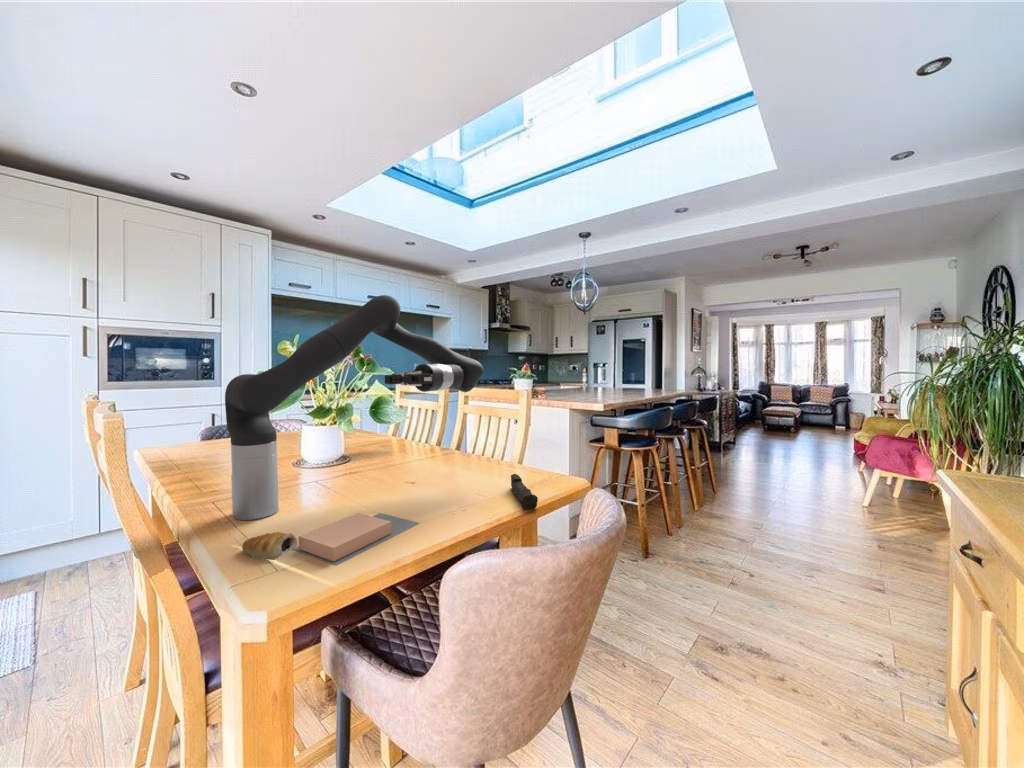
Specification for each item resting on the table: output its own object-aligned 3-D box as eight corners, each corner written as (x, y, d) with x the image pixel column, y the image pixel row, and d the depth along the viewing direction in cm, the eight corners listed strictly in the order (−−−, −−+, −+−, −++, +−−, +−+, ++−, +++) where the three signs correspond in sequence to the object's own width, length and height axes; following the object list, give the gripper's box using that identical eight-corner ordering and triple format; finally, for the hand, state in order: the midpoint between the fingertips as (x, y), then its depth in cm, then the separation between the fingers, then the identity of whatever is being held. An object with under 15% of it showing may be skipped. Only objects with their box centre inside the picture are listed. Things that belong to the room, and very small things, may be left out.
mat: (292, 551, 79) (292, 549, 79) (380, 514, 99) (380, 512, 99) (336, 567, 73) (336, 565, 73) (420, 524, 93) (420, 523, 93)
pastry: (232, 558, 77) (231, 538, 77) (259, 543, 84) (259, 524, 84) (276, 562, 76) (276, 542, 75) (301, 546, 82) (301, 527, 82)
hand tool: (538, 510, 103) (538, 491, 102) (522, 511, 102) (522, 492, 102) (522, 487, 121) (522, 471, 121) (508, 488, 121) (508, 472, 120)
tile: (358, 524, 91) (298, 550, 79) (358, 512, 91) (298, 536, 79) (391, 534, 87) (333, 562, 74) (391, 521, 86) (333, 547, 74)
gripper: (415, 363, 118) (367, 363, 103) (453, 363, 111) (407, 364, 96) (415, 389, 118) (367, 394, 103) (453, 391, 112) (407, 396, 97)
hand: (387, 379), depth 100 cm, fingers closed
